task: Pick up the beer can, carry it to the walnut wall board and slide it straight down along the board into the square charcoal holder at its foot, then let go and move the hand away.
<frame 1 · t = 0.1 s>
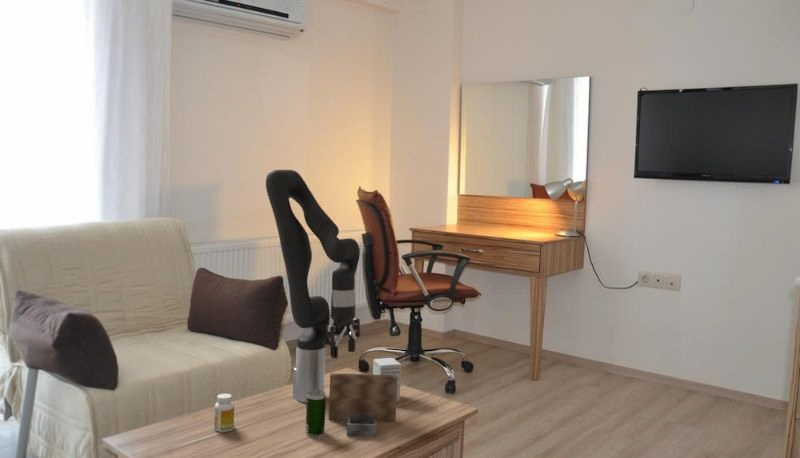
hand: (343, 354, 214), 17 cm above the table, tool pointing down, fingers open, 8 cm apart
supplement bottle: (224, 429, 196), on the table
beer can: (314, 434, 195), on the table
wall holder: (361, 430, 199), on the table
supplement box: (385, 399, 226), on the table
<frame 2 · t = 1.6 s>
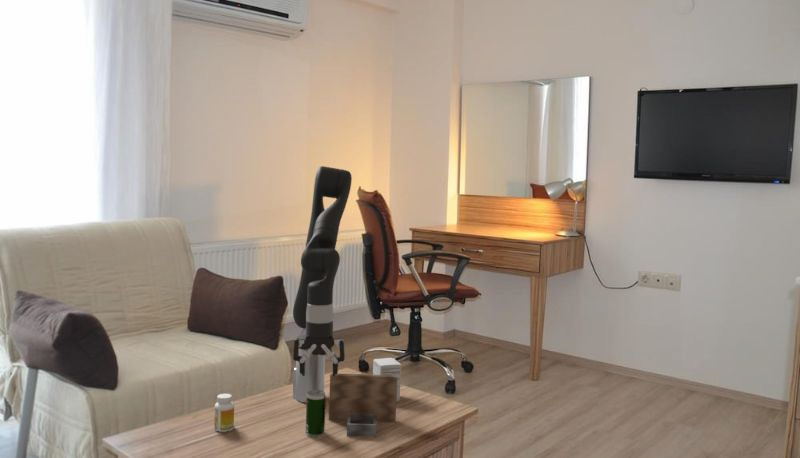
hand: (318, 375, 194), 17 cm above the table, tool pointing down, fingers open, 8 cm apart
nothing on the table moved.
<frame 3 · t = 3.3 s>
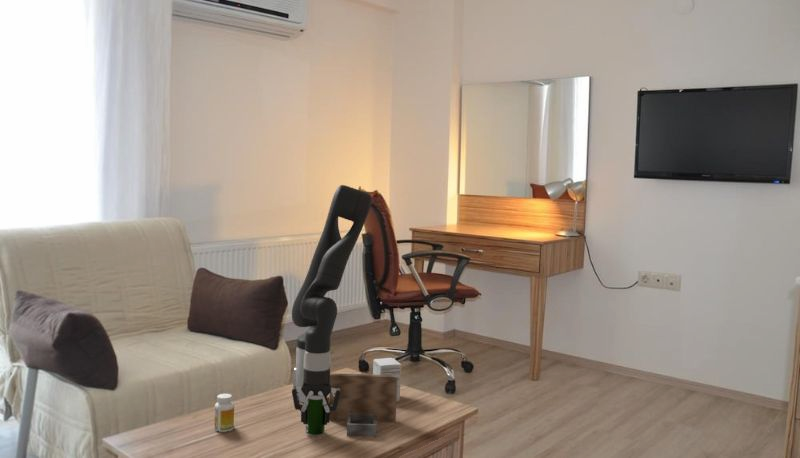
hand: (315, 423, 195), 3 cm above the table, tool pointing down, fingers closed on beer can, 5 cm apart
beer can: (315, 434, 195), on the table, touching gripper
everything else where it was.
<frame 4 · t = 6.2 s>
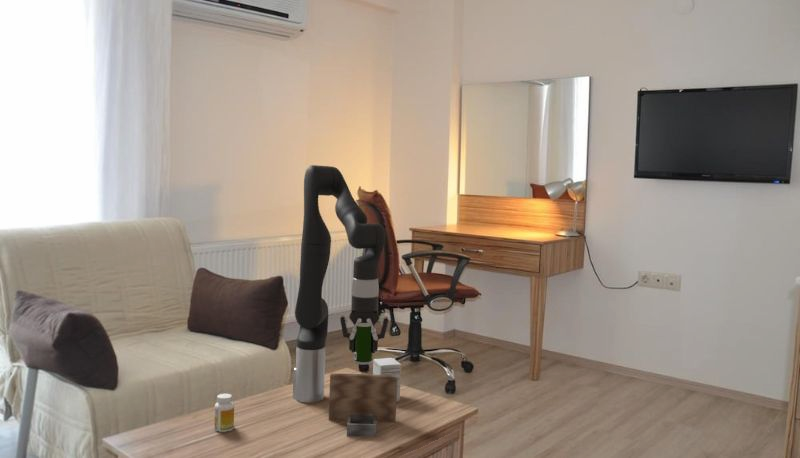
hand: (363, 351, 196), 24 cm above the table, tool pointing down, fingers closed on beer can, 5 cm apart
beer can: (363, 362, 196), point 20 cm above the table, touching gripper
everything else where it was.
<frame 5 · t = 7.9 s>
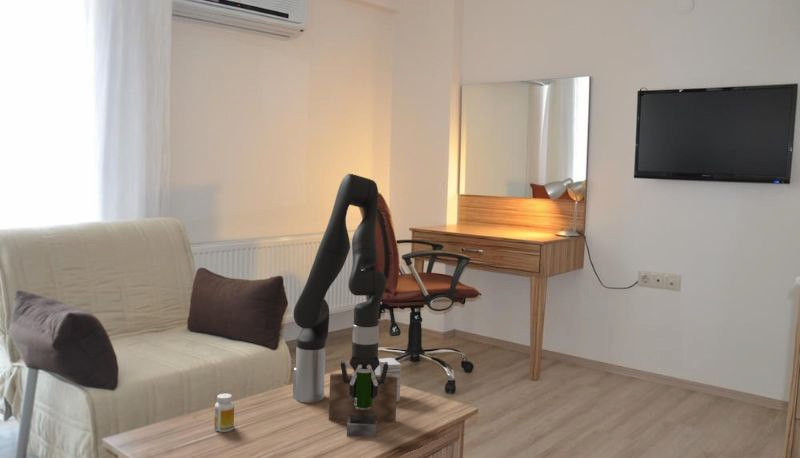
hand: (363, 396, 198), 10 cm above the table, tool pointing down, fingers closed on beer can, 5 cm apart
beer can: (363, 407, 198), point 7 cm above the table, touching gripper
everything else where it was.
when the fingers open (5 cm above the table, at t = 9.4 s): beer can drops 2 cm, resting in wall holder.
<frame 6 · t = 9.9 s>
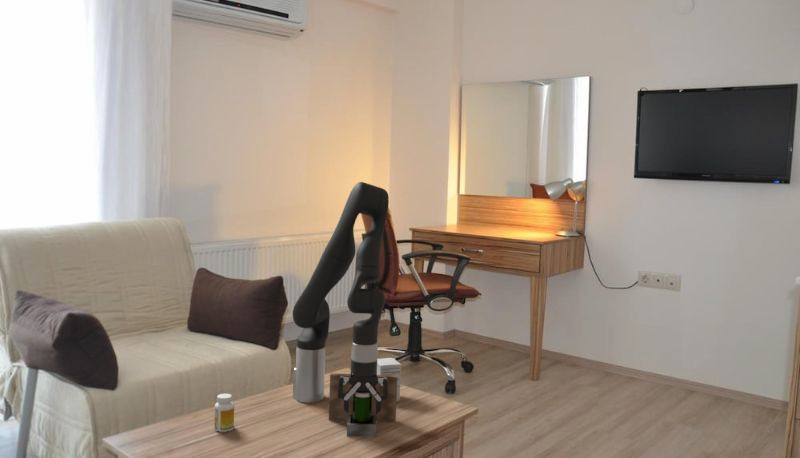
hand: (362, 412, 198), 6 cm above the table, tool pointing down, fingers open, 8 cm apart
beer can: (361, 431, 199), resting in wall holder
everything else where it was.
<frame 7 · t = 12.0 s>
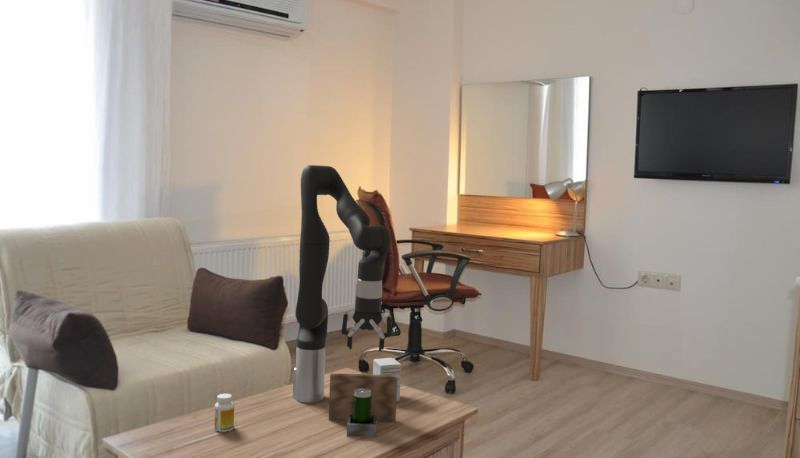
hand: (365, 349, 199), 23 cm above the table, tool pointing down, fingers open, 8 cm apart
nothing on the table moved.
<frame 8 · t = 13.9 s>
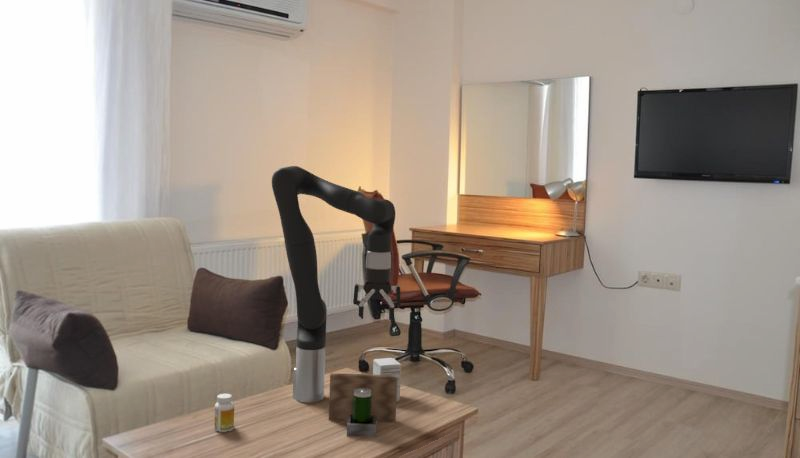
hand: (376, 318, 208), 30 cm above the table, tool pointing down, fingers open, 8 cm apart
nothing on the table moved.
at the end: beer can 0.1 cm off-centre on the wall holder, point 0.0 cm above the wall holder's base; beer can tilted 0°; the gripper is holding nothing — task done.
